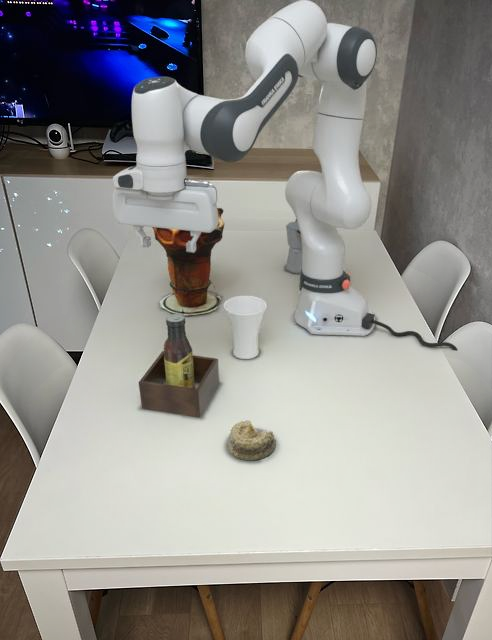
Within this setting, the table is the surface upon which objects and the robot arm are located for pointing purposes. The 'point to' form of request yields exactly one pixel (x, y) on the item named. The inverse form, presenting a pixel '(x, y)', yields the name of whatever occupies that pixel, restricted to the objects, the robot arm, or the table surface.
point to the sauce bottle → (178, 354)
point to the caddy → (179, 388)
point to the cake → (250, 442)
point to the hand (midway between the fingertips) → (168, 248)
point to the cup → (245, 324)
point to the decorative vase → (189, 269)
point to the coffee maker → (294, 248)
